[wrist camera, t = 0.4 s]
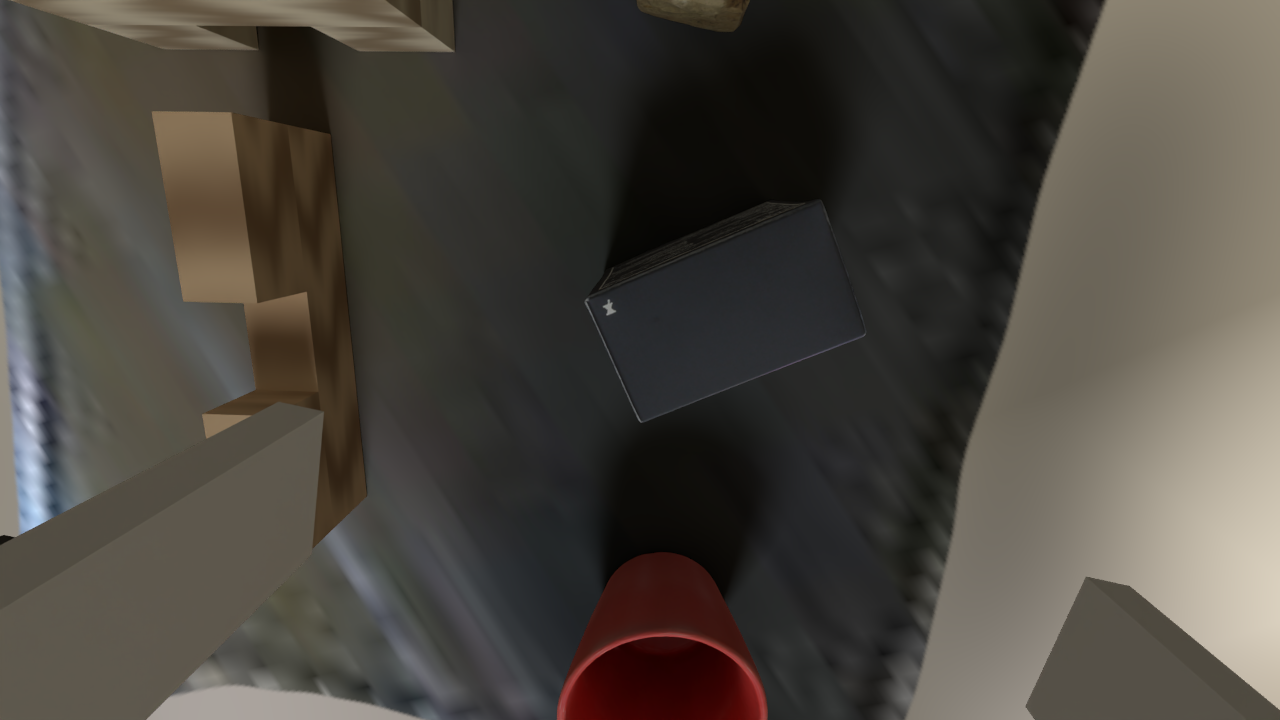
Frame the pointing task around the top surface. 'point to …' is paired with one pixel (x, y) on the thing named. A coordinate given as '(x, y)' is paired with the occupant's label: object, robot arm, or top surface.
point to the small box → (725, 305)
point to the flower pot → (662, 650)
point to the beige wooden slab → (266, 21)
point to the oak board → (270, 273)
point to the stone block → (699, 12)
